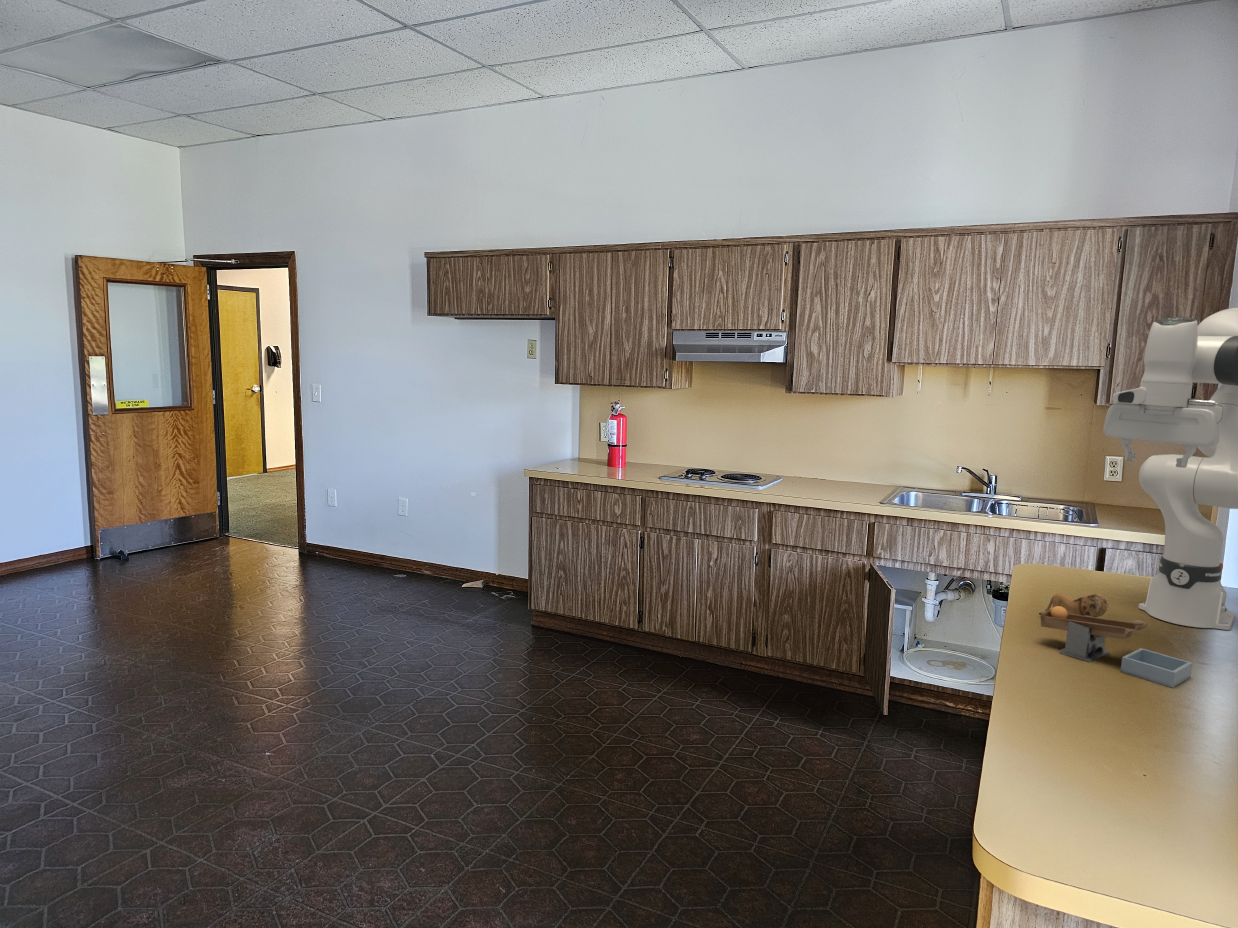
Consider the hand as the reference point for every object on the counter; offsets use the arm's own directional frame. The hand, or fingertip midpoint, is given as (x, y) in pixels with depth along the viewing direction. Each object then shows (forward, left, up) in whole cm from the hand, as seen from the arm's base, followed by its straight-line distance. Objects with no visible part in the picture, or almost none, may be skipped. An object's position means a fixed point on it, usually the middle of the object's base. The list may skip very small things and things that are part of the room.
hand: (1154, 464), depth 167 cm
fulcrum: (+13, -4, -40) cm, 42 cm away
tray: (+13, +9, -40) cm, 43 cm away
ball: (+13, -10, -33) cm, 37 cm away
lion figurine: (-3, -13, -40) cm, 42 cm away
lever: (+10, -4, -35) cm, 36 cm away
